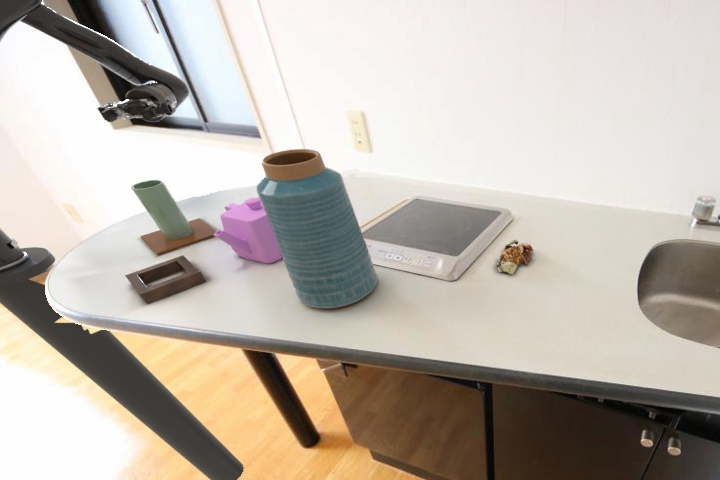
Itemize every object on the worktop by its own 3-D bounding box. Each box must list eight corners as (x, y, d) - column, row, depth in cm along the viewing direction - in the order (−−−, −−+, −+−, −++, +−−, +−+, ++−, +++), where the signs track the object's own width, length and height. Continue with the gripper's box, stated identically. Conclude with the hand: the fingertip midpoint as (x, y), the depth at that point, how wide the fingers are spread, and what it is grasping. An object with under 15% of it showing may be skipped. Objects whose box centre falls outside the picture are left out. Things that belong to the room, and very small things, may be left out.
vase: (366, 312, 72) (320, 173, 54) (285, 312, 72) (212, 173, 54) (386, 268, 84) (355, 142, 66) (317, 267, 84) (266, 142, 66)
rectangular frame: (147, 304, 74) (139, 294, 72) (132, 284, 79) (124, 275, 78) (206, 281, 80) (200, 271, 79) (189, 264, 85) (182, 255, 84)
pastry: (492, 271, 82) (491, 258, 80) (507, 247, 91) (507, 233, 88) (521, 277, 81) (522, 263, 78) (534, 251, 89) (535, 238, 87)
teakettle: (308, 227, 99) (290, 181, 91) (312, 256, 88) (293, 206, 80) (238, 240, 94) (212, 193, 86) (234, 272, 83) (203, 221, 74)
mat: (158, 255, 88) (156, 253, 88) (141, 238, 95) (140, 236, 95) (219, 234, 96) (218, 232, 96) (200, 220, 103) (199, 218, 103)
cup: (170, 242, 92) (135, 191, 83) (162, 235, 95) (127, 185, 86) (197, 233, 96) (166, 183, 87) (188, 226, 99) (158, 178, 90)
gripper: (108, 87, 93) (78, 99, 82) (172, 84, 96) (152, 95, 85) (128, 120, 98) (103, 136, 87) (189, 116, 101) (172, 130, 90)
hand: (128, 115), depth 86 cm, fingers open, 8 cm apart
